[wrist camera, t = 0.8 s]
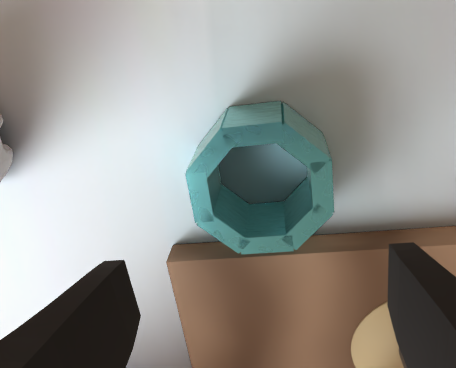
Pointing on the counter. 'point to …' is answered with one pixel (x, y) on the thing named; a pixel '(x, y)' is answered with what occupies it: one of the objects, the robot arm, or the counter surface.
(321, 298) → the board
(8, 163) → the bottle
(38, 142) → the counter surface
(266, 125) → the ring
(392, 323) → the robot arm
